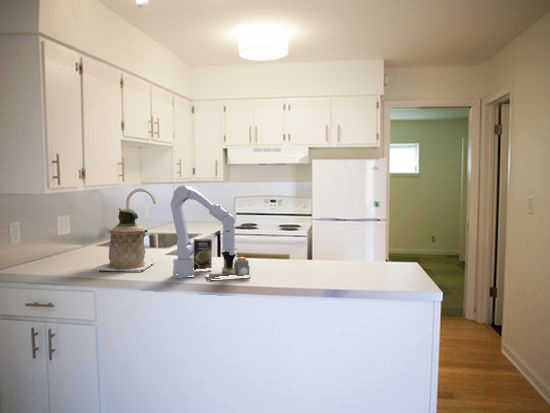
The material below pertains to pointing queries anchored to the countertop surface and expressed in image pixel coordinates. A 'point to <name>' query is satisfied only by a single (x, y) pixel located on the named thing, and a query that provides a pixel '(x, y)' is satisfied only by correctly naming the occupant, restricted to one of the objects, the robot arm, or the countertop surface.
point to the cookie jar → (126, 245)
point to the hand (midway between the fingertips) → (228, 267)
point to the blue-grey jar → (241, 267)
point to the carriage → (227, 269)
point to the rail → (219, 274)
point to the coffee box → (202, 253)
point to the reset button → (241, 258)
